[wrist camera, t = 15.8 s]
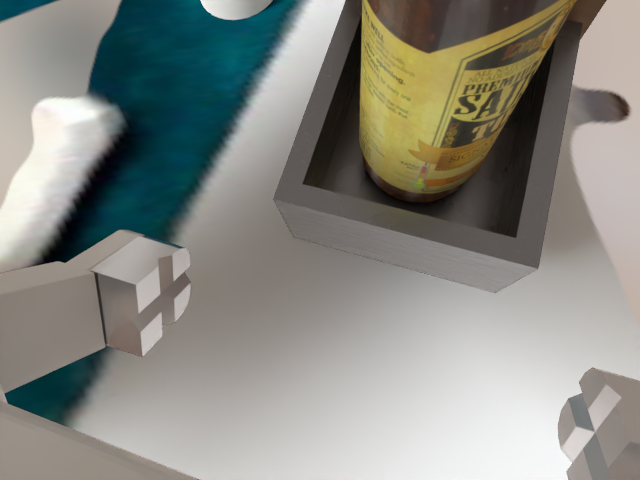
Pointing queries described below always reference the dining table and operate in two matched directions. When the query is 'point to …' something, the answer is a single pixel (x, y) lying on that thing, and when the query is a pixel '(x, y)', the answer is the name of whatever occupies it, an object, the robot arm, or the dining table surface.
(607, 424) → the robot arm
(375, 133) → the sauce bottle
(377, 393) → the dining table surface
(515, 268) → the open rectangular box
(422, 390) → the dining table surface
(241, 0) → the cylindrical container
